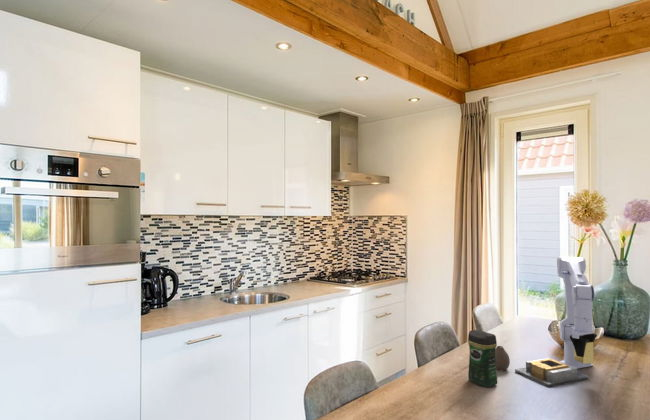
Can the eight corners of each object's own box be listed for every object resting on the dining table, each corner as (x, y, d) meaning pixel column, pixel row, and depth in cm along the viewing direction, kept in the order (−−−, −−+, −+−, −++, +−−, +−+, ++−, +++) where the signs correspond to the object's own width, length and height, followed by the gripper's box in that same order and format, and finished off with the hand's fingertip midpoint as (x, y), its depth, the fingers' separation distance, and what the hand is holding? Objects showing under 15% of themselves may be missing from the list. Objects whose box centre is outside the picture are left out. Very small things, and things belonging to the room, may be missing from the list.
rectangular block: (584, 359, 149) (584, 338, 149) (593, 363, 145) (593, 342, 145) (574, 359, 148) (574, 339, 148) (583, 363, 144) (583, 342, 144)
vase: (511, 372, 155) (511, 350, 155) (492, 371, 156) (492, 349, 156) (507, 366, 162) (507, 344, 162) (489, 365, 163) (489, 343, 163)
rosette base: (552, 365, 163) (552, 353, 163) (588, 379, 149) (588, 366, 149) (515, 371, 156) (514, 360, 156) (548, 387, 142) (548, 374, 142)
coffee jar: (501, 385, 144) (500, 333, 144) (486, 389, 140) (486, 336, 140) (478, 375, 152) (478, 326, 152) (464, 380, 148) (464, 329, 148)
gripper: (579, 312, 154) (579, 347, 154) (562, 318, 146) (563, 355, 145) (600, 316, 149) (600, 352, 149) (584, 322, 140) (584, 361, 140)
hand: (583, 354), depth 147 cm, fingers closed on rectangular block, 6 cm apart
